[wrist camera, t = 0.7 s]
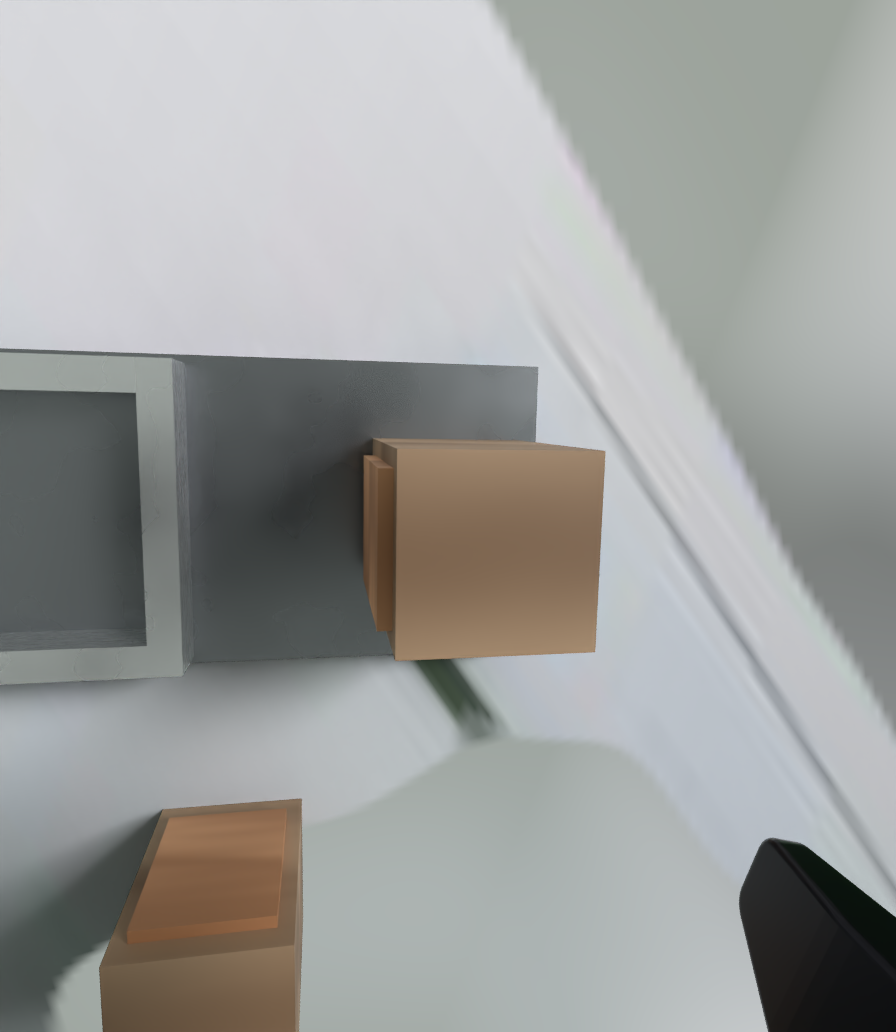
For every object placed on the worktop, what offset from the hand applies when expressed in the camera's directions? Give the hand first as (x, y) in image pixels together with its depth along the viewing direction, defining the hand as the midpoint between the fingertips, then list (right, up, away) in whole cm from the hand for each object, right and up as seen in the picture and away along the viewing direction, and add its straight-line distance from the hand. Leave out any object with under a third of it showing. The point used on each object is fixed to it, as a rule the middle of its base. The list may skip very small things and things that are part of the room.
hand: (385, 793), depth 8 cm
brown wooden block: (+1, +3, +11) cm, 12 cm away
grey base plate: (-6, +4, +11) cm, 13 cm away
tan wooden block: (-6, -7, +13) cm, 16 cm away
